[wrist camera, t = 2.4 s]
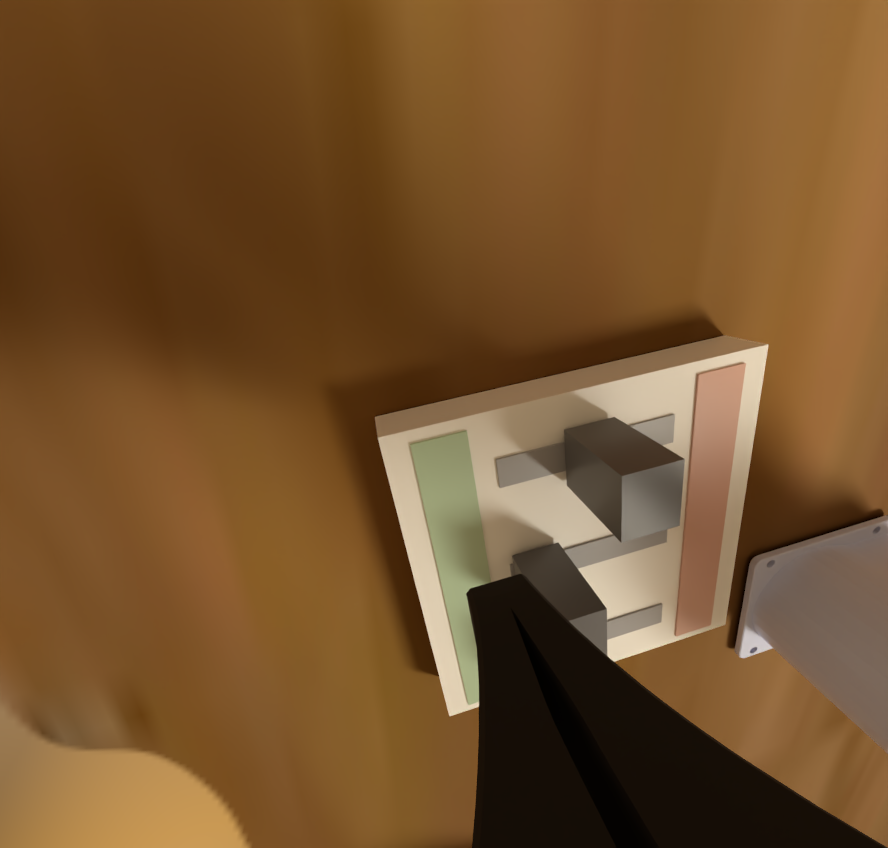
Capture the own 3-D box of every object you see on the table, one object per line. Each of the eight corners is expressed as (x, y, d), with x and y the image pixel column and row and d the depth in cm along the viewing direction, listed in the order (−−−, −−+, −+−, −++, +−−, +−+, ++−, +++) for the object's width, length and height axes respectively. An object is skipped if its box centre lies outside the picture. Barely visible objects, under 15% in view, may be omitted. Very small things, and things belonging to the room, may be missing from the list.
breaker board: (724, 335, 17) (770, 344, 15) (695, 596, 23) (726, 626, 21) (374, 416, 15) (377, 439, 14) (441, 677, 21) (449, 718, 20)
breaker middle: (558, 542, 17) (606, 609, 14) (561, 586, 18) (607, 657, 15) (512, 555, 16) (550, 626, 13) (517, 599, 17) (554, 675, 14)
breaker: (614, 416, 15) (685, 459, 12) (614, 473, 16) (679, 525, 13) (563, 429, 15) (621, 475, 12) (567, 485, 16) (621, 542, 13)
